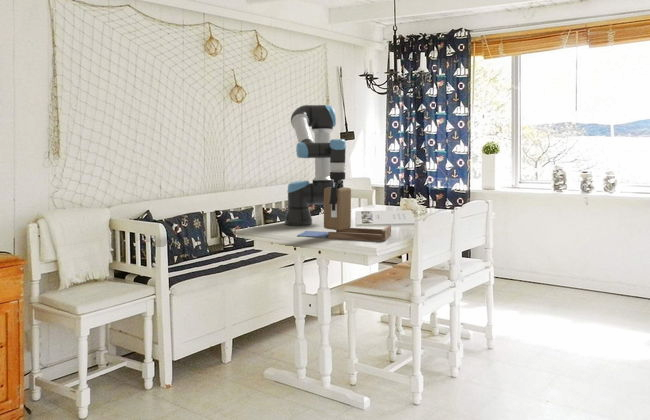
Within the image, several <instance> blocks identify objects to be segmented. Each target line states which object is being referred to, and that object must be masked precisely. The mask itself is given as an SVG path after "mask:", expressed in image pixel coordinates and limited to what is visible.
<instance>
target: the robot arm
mask: <svg viewBox="0 0 650 420" xmlns="http://www.w3.org/2000/svg"><path fill="white" fill-rule="evenodd" d="M336 124H337V118H336V112H335V109H334V107H333V106H332V105H326V104H304V105H302V106H299V107H297V108H295V110H294V111H293V112H292V114H291V116H290V125H291V127H292V128H293V129H294V131H295V135H296V139H297V141H298V143H297V144H296V156H297V158H299V159H314V170H315V171H314V177H313V179H312V182H310V181H309V180H299V181H293V182H290V183H289V184H288V186H287V191H286V192H287V212H286V214H285V218H284V224H285V225H287V226H295V227H296V226H297V227H298V226H309V225H312V224H313V218H312V215H311V211H310V205H324V189H325V188H330V187H332V188H331V196H330V202H329V204H331V217H337V204H336V202H337V196H336V193H337V189H340V188H342V187H344V180H346V172H345V171H346V167H347V164H346V148H347V146H346V139H342V138H341V139H340V138H338V139H337V138H334V139H333V138H332V139H331V133H332V131H333V130H334V127H336ZM310 127H311V129H310ZM311 131H312V132H313V133H314V138H313V135H312V132H311Z"/></svg>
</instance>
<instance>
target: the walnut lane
mask: <svg viewBox="0 0 650 420" xmlns="http://www.w3.org/2000/svg"><path fill="white" fill-rule="evenodd" d="M327 232H328V236H327V239H333V240H351V241H352V240H353V241H354V240H355V241H373V242H375V241H376V242H386V241H387V240H388V239H389V238H390V237H392V225H387V226H386V227H384V228H382V229H381V228H380V229H379V228H365V227H364V228H362V227H350V228H348V229H343V230H335V231H327Z"/></svg>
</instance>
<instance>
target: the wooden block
mask: <svg viewBox="0 0 650 420" xmlns="http://www.w3.org/2000/svg"><path fill="white" fill-rule="evenodd" d="M331 188H332V187H330V188H325V189H324V204H323V228H324V229H327V230H333V231H336V230H343V229H348V228H352V227H351V226H352V225H351V224H352V223H351V222H352V221H351V220H352V216H351V215H352V188H350V187H344V186H343V187H342V188H340V189H337V193H336V196H337V202H336V204H337V217H331V204H329V202H330V196H331Z"/></svg>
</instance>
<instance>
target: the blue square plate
mask: <svg viewBox="0 0 650 420" xmlns="http://www.w3.org/2000/svg"><path fill="white" fill-rule="evenodd" d="M328 232H329V231H318V230H317V231H316V230H305V231H303V232H301V233H299V234H297V237H300V236H306V237H305V238H319V239H321V238H323V239H326V238H328Z"/></svg>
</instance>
